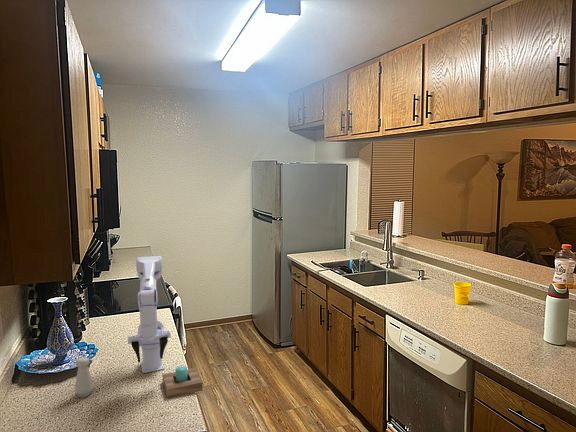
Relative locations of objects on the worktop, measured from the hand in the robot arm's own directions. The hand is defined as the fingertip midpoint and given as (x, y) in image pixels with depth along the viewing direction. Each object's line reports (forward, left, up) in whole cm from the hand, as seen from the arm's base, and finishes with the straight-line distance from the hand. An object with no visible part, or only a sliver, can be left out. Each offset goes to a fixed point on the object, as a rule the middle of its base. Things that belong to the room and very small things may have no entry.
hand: (150, 359), depth 159 cm
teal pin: (+6, +10, -9) cm, 15 cm away
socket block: (+6, +10, -9) cm, 15 cm away
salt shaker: (-2, -22, -10) cm, 24 cm away
